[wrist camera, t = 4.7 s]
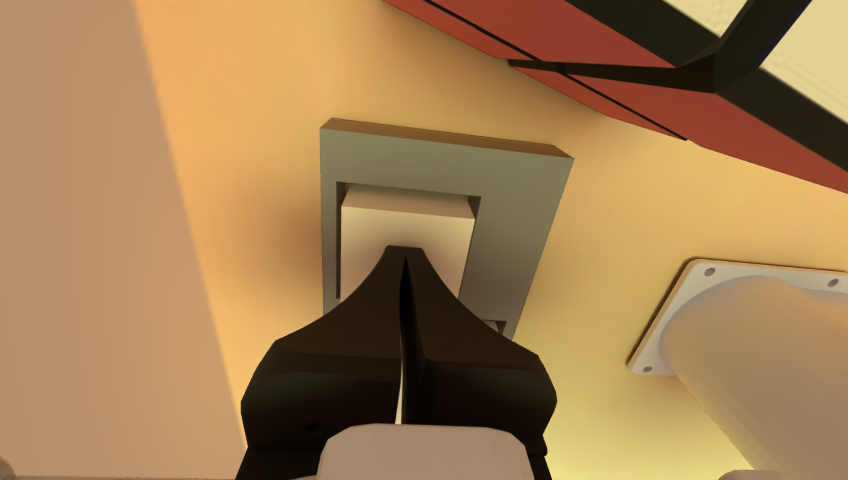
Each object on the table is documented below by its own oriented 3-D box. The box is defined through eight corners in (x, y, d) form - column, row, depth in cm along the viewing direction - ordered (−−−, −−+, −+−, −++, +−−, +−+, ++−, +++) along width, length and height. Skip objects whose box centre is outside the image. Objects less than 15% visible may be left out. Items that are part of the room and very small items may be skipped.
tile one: (463, 190, 14) (475, 220, 12) (446, 279, 16) (453, 321, 14) (353, 178, 14) (341, 207, 11) (350, 272, 16) (339, 313, 13)
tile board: (553, 145, 14) (574, 158, 12) (461, 442, 24) (466, 473, 22) (331, 118, 13) (319, 128, 11) (332, 438, 23) (326, 470, 21)
